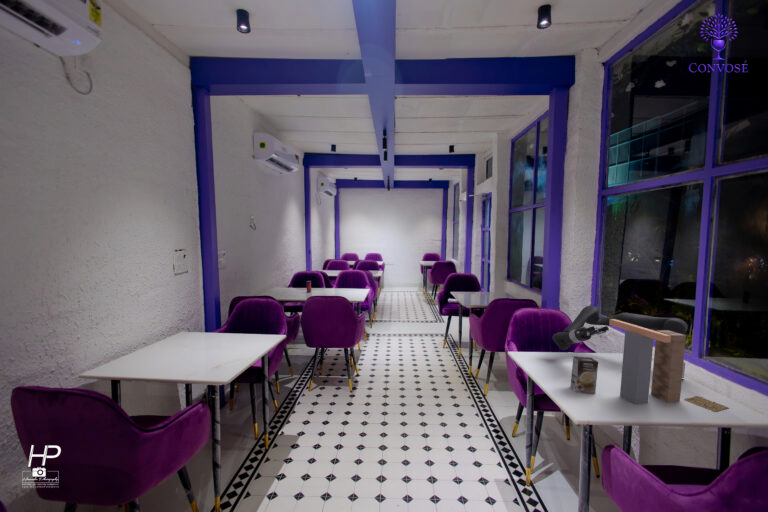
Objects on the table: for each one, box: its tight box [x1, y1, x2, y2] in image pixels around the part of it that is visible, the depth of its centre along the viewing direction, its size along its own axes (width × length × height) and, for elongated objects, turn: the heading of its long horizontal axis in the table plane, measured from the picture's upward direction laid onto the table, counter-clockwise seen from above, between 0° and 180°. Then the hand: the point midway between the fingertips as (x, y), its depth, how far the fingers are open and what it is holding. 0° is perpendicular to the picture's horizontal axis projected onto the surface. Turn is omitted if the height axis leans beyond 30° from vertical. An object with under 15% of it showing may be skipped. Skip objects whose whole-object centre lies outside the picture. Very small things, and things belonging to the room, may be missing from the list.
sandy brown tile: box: [683, 395, 730, 413], centre depth 154 cm, size 12×12×1 cm
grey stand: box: [619, 330, 655, 405], centre depth 155 cm, size 8×7×32 cm
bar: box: [609, 319, 671, 343], centre depth 155 cm, size 28×3×3 cm, turn 10°
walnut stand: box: [650, 330, 687, 403], centre depth 158 cm, size 8×7×32 cm
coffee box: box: [570, 355, 599, 394], centre depth 163 cm, size 9×6×16 cm
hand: (601, 328), depth 175 cm, fingers open, 8 cm apart
